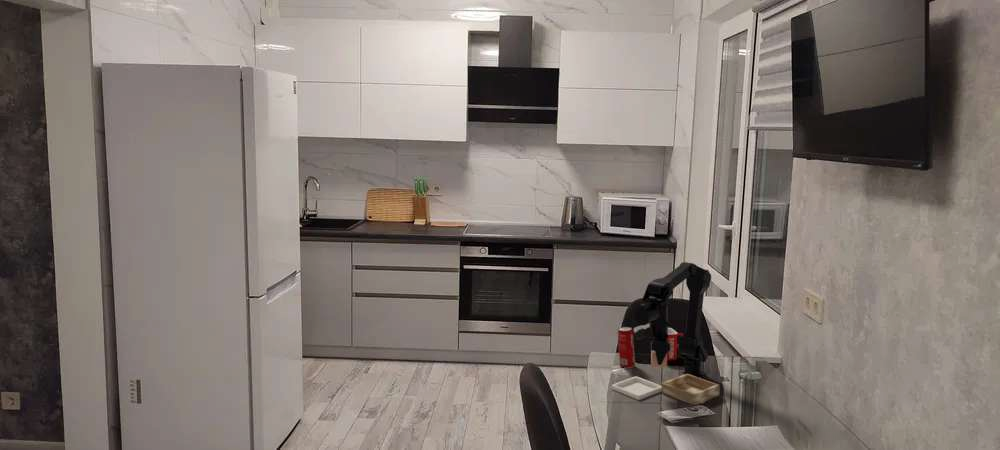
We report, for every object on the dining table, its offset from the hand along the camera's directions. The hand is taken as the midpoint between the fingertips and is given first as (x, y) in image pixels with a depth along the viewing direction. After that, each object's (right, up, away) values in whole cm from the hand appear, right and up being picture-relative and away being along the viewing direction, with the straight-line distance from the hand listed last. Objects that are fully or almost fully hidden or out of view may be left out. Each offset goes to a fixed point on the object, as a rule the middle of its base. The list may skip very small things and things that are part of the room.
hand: (659, 361), depth 236 cm
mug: (+12, -5, +36) cm, 38 cm away
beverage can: (-6, -7, +27) cm, 29 cm away
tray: (-7, -11, +3) cm, 13 cm away
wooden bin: (+10, -11, -1) cm, 15 cm away
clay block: (0, -1, 0) cm, 1 cm away
